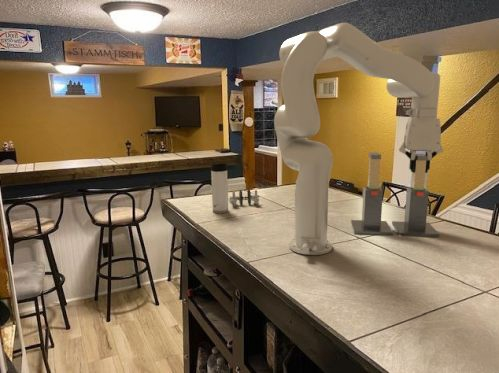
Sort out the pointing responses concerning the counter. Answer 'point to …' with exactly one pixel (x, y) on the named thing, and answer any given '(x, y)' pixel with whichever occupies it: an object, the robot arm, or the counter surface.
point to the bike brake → (249, 196)
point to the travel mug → (219, 187)
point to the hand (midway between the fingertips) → (419, 171)
